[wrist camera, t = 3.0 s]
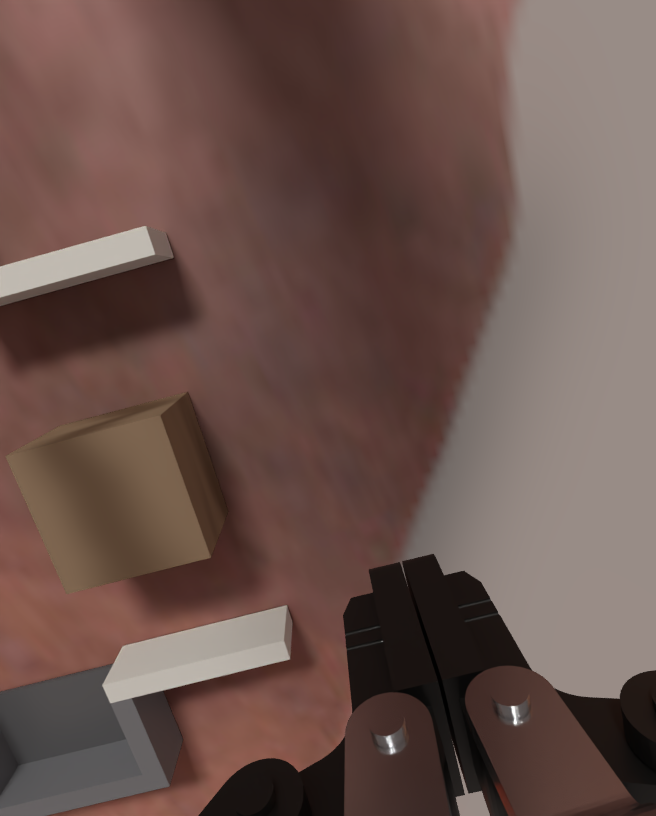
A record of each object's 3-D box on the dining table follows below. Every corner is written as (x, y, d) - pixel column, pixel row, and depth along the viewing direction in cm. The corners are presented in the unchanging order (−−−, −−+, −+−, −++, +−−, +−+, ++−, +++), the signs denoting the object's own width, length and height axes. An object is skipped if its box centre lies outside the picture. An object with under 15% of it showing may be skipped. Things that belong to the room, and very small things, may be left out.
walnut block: (188, 391, 26) (160, 415, 22) (228, 510, 28) (211, 557, 23) (61, 424, 27) (5, 456, 22) (109, 540, 28) (66, 594, 24)
